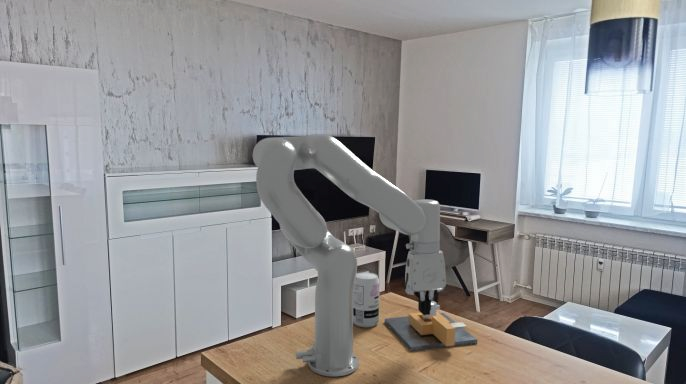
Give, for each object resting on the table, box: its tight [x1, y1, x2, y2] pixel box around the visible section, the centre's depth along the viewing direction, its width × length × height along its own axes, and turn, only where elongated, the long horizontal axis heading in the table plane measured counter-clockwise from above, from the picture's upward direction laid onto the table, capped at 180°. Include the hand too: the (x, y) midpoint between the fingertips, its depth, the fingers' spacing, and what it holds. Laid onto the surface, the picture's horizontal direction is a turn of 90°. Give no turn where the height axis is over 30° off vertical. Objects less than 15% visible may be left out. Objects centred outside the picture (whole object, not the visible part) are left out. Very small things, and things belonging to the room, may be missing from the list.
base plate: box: [384, 300, 478, 352], centre depth 136 cm, size 22×20×9 cm
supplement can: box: [353, 271, 381, 329], centre depth 142 cm, size 8×8×15 cm
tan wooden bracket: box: [408, 310, 455, 347], centre depth 132 cm, size 9×18×5 cm, turn 16°
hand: (424, 313), depth 124 cm, fingers closed
